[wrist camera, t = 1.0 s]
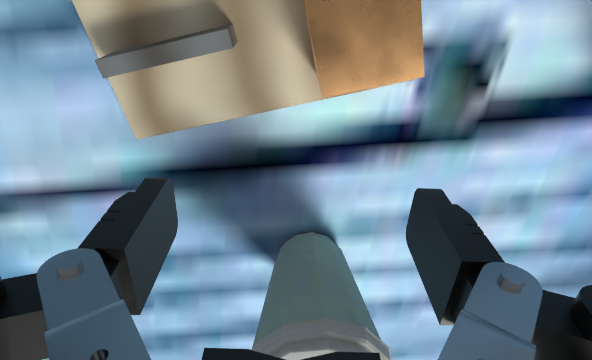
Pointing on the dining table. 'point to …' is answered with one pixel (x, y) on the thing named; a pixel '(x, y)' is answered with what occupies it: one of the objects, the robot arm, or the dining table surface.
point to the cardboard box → (364, 43)
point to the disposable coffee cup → (314, 304)
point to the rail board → (201, 59)
